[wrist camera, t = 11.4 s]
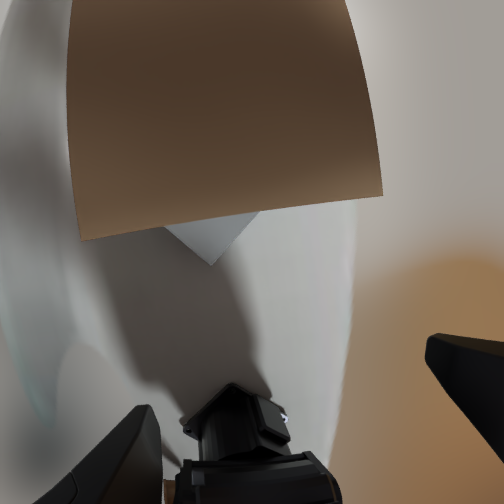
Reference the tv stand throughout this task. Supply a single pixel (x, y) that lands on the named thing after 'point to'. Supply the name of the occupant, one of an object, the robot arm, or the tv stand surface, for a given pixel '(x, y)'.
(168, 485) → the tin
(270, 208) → the walnut block
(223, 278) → the tv stand surface
